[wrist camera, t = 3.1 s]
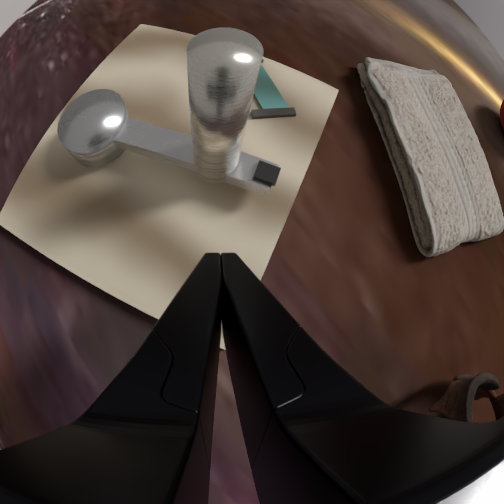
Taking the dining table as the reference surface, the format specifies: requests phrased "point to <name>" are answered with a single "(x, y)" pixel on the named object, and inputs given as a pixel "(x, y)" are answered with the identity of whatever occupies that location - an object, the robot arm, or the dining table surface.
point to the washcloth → (432, 156)
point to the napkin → (165, 180)
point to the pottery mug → (469, 397)
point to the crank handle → (201, 118)
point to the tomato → (502, 114)
